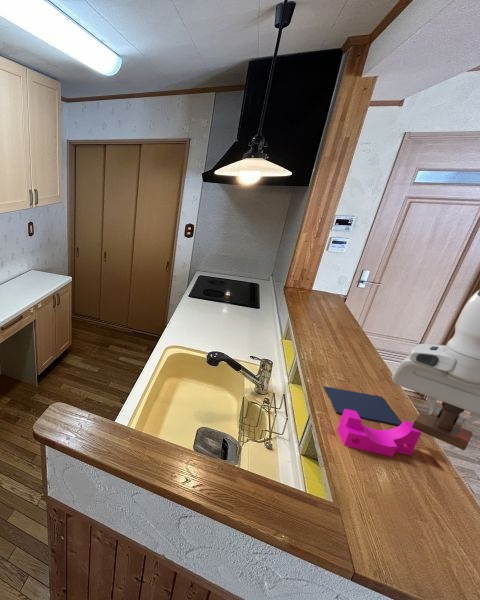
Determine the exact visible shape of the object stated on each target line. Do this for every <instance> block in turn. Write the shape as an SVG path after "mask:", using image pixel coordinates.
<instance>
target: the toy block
mask: <svg viewBox="0 0 480 600" xmlns="http://www.w3.org/2000/svg"><path fill="white" fill-rule="evenodd" d="M401 423H402V424H401V425H399V426H395V427H393V428H390V429H375V428H372V427H368V426H366V425H365V424H364V423H362V419H361V418H360V417H359V415H358V413H357V412H356V411H353V410H348V409H344V411H343V414H341V417H340V420H339V424H338V426H337V429H336V431H337V433H338V435H339V438H340V439H341V442H342V444H343V445H344V446H345V447H349V448H352V449H357V450H360V451H361V450H362V451H366V452H369V453H375V454H379V455H382V456H386V457H387V456H388V457H391V458H393V457H394V455H395V453H400V454H404V455H407V456H412V454H413V453H414V450H415V447H416V445H417V443H418V441H419V439H420V437H421V434H422V432H421V431H419V430H416V429H414V428H412V426H413V423H414V422H411V421H406V420H403V422H401Z"/></svg>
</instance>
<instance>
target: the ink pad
mask: <svg viewBox="0 0 480 600" xmlns="http://www.w3.org/2000/svg"><path fill="white" fill-rule="evenodd" d="M323 387H324V388H323V390H324V389H325V390H324V392H325V391H326V392H325V394H326V393H327V394H326V395H328V396H327V397H329V398H330V400H331V402H332V403H331V402H330V403H331V405H332V404H333V405H332V407H333V410H334V412H335V413H336V414H337V415H342V414H343V411H344V409H348V410H353V411H356V412H357V413H358V415H359V417H360V419H361V420H367V421H372V422H377V423H382V424H387V425H391V426H395V427H398V426H399V425H401V424H402V423H403V422H401V420H400V419H399V417H398V416H397V415H396V414H395V412H394V410H393V409H392V408H391V407H390V406H389V404H388V403H387V401H386V400H385V399H384V397H383V396H380V395H374V394H370V393H365V392H357V391H352V390H347V389H341V388H336V387H330V386H325V385H324V386H323ZM329 398H328V399H329ZM330 400H329V401H330Z"/></svg>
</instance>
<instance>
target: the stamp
mask: <svg viewBox="0 0 480 600" xmlns="http://www.w3.org/2000/svg"><path fill="white" fill-rule="evenodd" d="M440 409H441V411H440V414H439V416H438V418H436V417H433V416H430V415H428V413H425V412H423V411H421V412H420V413H419V414H418V416H416V418H415V420H414V421H413V422H412V423H413V426H412V428H414V429H416V430H419V431H421V433H423V434H425V435H428V436H430V437H433V438H435V439H436V440H438V441H440V442H441V441H442V442H443V443H446V444H448V445H451V446H453V447H455V448H457V449H460V450H462V451H466V449H467V447H468V445H469V443H470V441H471V439H472V437H473V434H474V432H472V431H471V430H468V429H466V428H465V429H463V428H460V427H458V426H455V423H456V421H457V419H458V417H459V416H461V414H462V413H464V412H465V410H464V409H462V408H459V407H456V406H453V405H451V404H448V403H445V402H443V401H441V408H440Z"/></svg>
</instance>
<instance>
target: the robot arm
mask: <svg viewBox="0 0 480 600" xmlns="http://www.w3.org/2000/svg"><path fill="white" fill-rule="evenodd" d="M391 381H392V382H393V384H395V385H397V386H399V387H402V388H405V389H408V390H409V391H413V392H416V393H419V394H421V395H423V396H427V397H426V398H425V399H426V402H427V406H428V408H429V411H428V413H427V415H430V416H432V417H435V418H438V416H439V414H440V411H441V409H442V408H440V407H438V406H437V404H436V403H437V402H438V401H439V402H445V403H448V404H451V405H453V406H456V407H459V408H462V409H464V411H467V412H469V415H468V416H465V417H464V416H461V415H459V417H458V419H457V421H456V423H455V426H457V427H460V428H463V429H466V427H467V425H468V424H471V423H474V422H477V421H479V420H480V289H478V290H477V291H475V292H474V293H473V295H471V297H469V299H468V301H467V302H466V303H465V305H464V306H463V308H462V310H461V312H460V314H459V316H458V318H457V320H456V322H455V325H454V333H453V336H452V337H451V338H450V339H449V340H448V341H447V343H446V345H445V344H431V343H419V344H417V345H415V346H414V347H413V348H412V349H411V350H410V352H409V354H408V355H406V357H405V358H403V360H401V362H400V363H399V364H398V365H397V368H395V370H394V372H393V374H392V376H391Z"/></svg>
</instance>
